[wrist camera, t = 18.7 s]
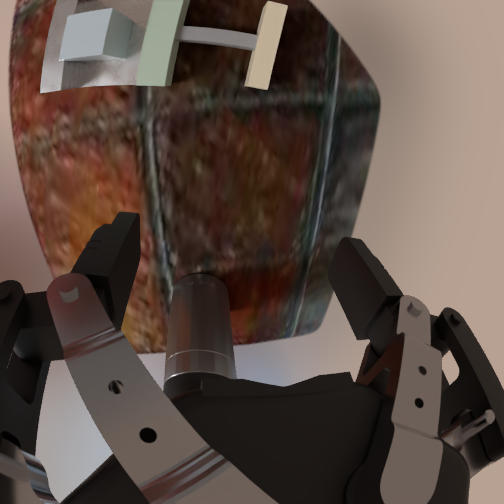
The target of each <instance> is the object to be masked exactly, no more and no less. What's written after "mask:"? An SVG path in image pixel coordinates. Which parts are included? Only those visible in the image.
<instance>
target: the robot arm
mask: <svg viewBox="0 0 504 504" xmlns="http://www.w3.org/2000/svg"><path fill="white" fill-rule="evenodd" d="M140 253H141V247H140V216H139V213H132V212H119V213H118V214H117V216H116V217H115V219H114V221H113V222H112V224H104V225H102V226H101V227H100V228H98V229H97V230H95V232H94V233H93V235H92V237H91V238H90V241H88V243H87V245H86V246H85V248H84V250H83V251H82V253H81V255H80V256H79V258H78V260H77V262H76V263H75V265H74V267H73V269H72V271H71V272H70V273H68V274H64V275H61V276H59V277H58V278H56V279H55V280H53V281H52V282H51V284H50V285H49V287H48V289H47V291H44V292H36V293H27V294H25V292H24V290H23V287H22V285H21V284H20V283H19V282H17V281H14V280H7V281H4V282H1V283H0V504H468V497H469V485H470V478H472V477H473V476H474V475H475V474H477V473H478V472H479V471H480V470H482V469H483V468H485V467H487V466H488V465H490V464H492V463H494V462H496V461H497V460H499V459H501V458H502V457H504V390H503V388H502V386H501V383H500V381H499V379H498V377H497V375H496V374H495V372H494V370H493V368H492V366H491V364H490V362H489V360H488V358H487V357H486V355H485V353H484V351H483V349H482V348H481V346H480V344H479V343H478V341H477V339H476V338H475V336H474V334H473V333H472V331H471V329H470V328H469V326H468V325H467V323H466V321H465V320H464V318H463V317H462V316H461V315H460V314H459V313H458V312H457V311H455V310H454V309H452V308H448V307H447V308H444V310H443V311H442V312H441V314H440V315H439V316H434V315H431V314H430V313H429V311H428V309H427V307H426V306H425V305H424V304H423V303H422V302H421V301H420V300H418V299H417V298H415V297H412V296H409V295H406V296H404V295H403V293H402V292H401V290H400V289H399V287H398V286H397V285H396V283H395V282H394V280H393V279H392V277H391V276H390V275H389V273H388V272H387V270H386V269H384V266H383V265H382V264H381V262H380V261H379V260H378V259H377V258H376V257H375V256H374V255H373V254H372V253H371V251H370V250H369V249H368V248H367V246H366V245H365V243H364V242H363V241H362V240H361V239H356V238H349V237H344V238H342V239H341V241H340V243H339V246H338V248H337V250H336V253H335V255H334V257H333V260H332V262H331V264H330V267H329V270H328V278H329V282H330V284H331V286H332V288H333V290H334V292H335V294H336V296H337V298H338V300H339V302H340V304H341V306H342V308H343V310H344V312H345V314H346V317H347V319H348V321H349V323H350V325H351V327H352V330H353V332H354V334H355V336H356V339H357V340H366V339H369V340H370V343H369V344H368V345H367V347H366V350H365V353H364V357H363V360H362V363H361V366H360V370H359V374H358V376H357V379H356V382H353V379H352V377H351V374H350V372H344V373H336V374H327V375H319V376H316V377H313V378H311V379H308V380H305V381H302V382H299V383H296V384H293V385H290V386H285V387H281V386H276V385H270V384H264V383H259V382H255V381H249V380H245V379H237V377H236V369H235V359H234V351H233V339H232V329H231V318H230V307H229V296H228V290H227V287H226V286H225V284H224V283H223V282H222V281H221V280H220V279H218V278H216V277H214V276H211V275H207V274H192V275H188V276H185V277H183V278H182V279H180V280H179V281H178V282H177V283H176V285H175V286H174V289H173V294H172V302H171V309H170V318H169V328H168V338H167V348H166V362H165V377H164V390H163V391H162V389H161V388H160V387H159V385H158V384H157V383H156V381H155V380H154V379H153V377H152V376H151V375H150V373H149V372H148V370H147V369H146V367H145V366H144V364H143V363H142V361H141V360H140V359H139V357H138V355H137V354H136V352H135V351H134V349H133V348H132V346H131V345H130V343H129V341H128V340H127V338H126V337H125V335H124V334H123V332H122V331H121V326H122V322H123V318H124V314H125V311H126V307H127V303H128V300H129V296H130V292H131V289H132V286H133V282H134V279H135V276H136V272H137V269H138V266H139V262H140ZM449 350H450V351H451V353H452V355H453V357H454V358H455V360H456V362H457V364H458V366H459V376H458V378H457V379H456V380H455V381H454V382H453V383H452V384H451V385H449V383H448V381H447V379H446V377H445V374H444V372H443V370H442V357H443V356H444V355H445V354H446V353H447V352H448V351H449ZM12 351H13V352H12ZM11 354H12V355H11ZM10 357H11V358H10ZM64 359H65V361H66V364H67V366H68V369H69V371H70V373H71V376H72V378H73V380H74V383H75V384H76V387H77V389H78V391H79V393H80V395H81V397H82V399H83V401H84V403H85V405H86V407H87V409H88V411H89V413H90V415H91V417H92V419H93V420H94V422H95V424H96V426H97V428H98V429H99V431H100V432H101V434H102V436H103V438H104V439H105V441H106V442H107V444H108V446H109V447H110V449H111V450H112V452H113V454H112V455H111V456H110V457H109V458H108V459H107V460H106V461H105V462H104V463H103V464H102V465H100V466H99V467H98V468H97V469H96V470H95V471H94V472H93V473H92V474H91V475H90V476H89V477H88V478H87V479H86V480H85V481H84V482H82V484H80V485H79V486H78V487H77V488H76V489H75V490H74V491H73V492H72V493H71V494H69V495H68V496H67V497H66V498H65V499H64V500H63V501H62V502H61V503H59V502H57V500H56V499H55V498H54V496H53V495H52V493H51V491H50V488H49V484H48V478H47V474H46V471H45V469H44V467H43V465H42V464H41V463H40V461H39V460H38V459H37V458H36V457H35V451H36V440H37V431H38V423H39V416H40V410H41V404H42V398H43V393H44V388H45V384H46V379H47V375H48V371H49V367H50V363H51V361H54V360H64ZM9 360H10V361H9ZM8 363H9V364H8ZM7 366H8V367H7ZM470 410H471V411H470Z"/></svg>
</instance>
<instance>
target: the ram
mask: <svg viewBox="0 0 504 504" xmlns="http://www.w3.org/2000/svg"><path fill="white" fill-rule="evenodd" d="M189 2H190V0H154V1H153V5H152V8H151V12H150V16H149V19H148V24H147V28H146V32H145V36H144V41H143V46H142V51H141V56H140V61H139V67H138V73H137V80H136V85H147V86H171V83H172V77H173V72H174V66H175V61H176V56H177V51H178V47H179V42H191V43H203V44H212V45H220V46H228V47H234V48H241V49H246V50H252V55H251V59H250V64H249V68H248V73H247V77H246V82H245V86H248V87H254V88H259V89H265V90H268V86H269V81H270V77H271V73H272V68H273V64H274V60H275V56H276V52H277V48H278V43H279V39H280V35H281V31H282V27H283V23H284V19H285V15H286V11H287V7H288V6H287V5H283V4H279V3H275V2H271V1H268V2H267V3H266V5H265V6H264V8H263V11H262V14H261V18H260V22H259V26H258V30H257V34H256V35H253V34H248V33H242V32H236V31H230V30H222V29H214V28H204V27H192V26H183V25H184V21H185V17H186V13H187V10H188V6H189Z"/></svg>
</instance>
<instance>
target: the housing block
mask: <svg viewBox="0 0 504 504" xmlns="http://www.w3.org/2000/svg"><path fill="white" fill-rule="evenodd" d="M132 24H133V21H132V20H131V19H129V18H128V17H126V16H125V15H123V14H122V13H120V12H118V11H117V10H115V9H114V8H108V9H101V10H95V11H89V12H84V13H79V14H74V15H69V16H68V18H67V22H66V26H65V30H64V35H63V40H62V45H61V50H60V56H59V61H82V62H91V61H101V60H115V59H125V57H126V52H127V47H128V42H129V37H130V32H131V28H132Z"/></svg>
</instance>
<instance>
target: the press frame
mask: <svg viewBox="0 0 504 504" xmlns="http://www.w3.org/2000/svg"><path fill="white" fill-rule="evenodd" d="M153 1H154V0H57V3H56V6H55V10H54V14H53V17H52V21H51V25H50V30H49V34H48V39H47V44H46V49H45V55H44V62H43V69H42V77H41V87H40V93H45V92H51V91H58V90H65V89H71V88H78V87H89V86H104V85H136V80H137V73H138V67H139V61H140V56H141V51H142V46H143V41H144V36H145V32H146V28H147V24H148V19H149V16H150V12H151V8H152V5H153ZM108 8H114V9H115V10H117V11H118V12H120V13H122V14H123V15H125V16H126V17H128V18H129V19H131V20H132V21H133V24H132V28H131V32H130V37H129V42H128V47H127V52H126V57H125V59H115V60H101V61H91V62H82V61H59V56H60V50H61V45H62V40H63V35H64V30H65V26H66V22H67V18H68V16H69V15H74V14H79V13H84V12H89V11H95V10H101V9H108Z"/></svg>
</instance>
